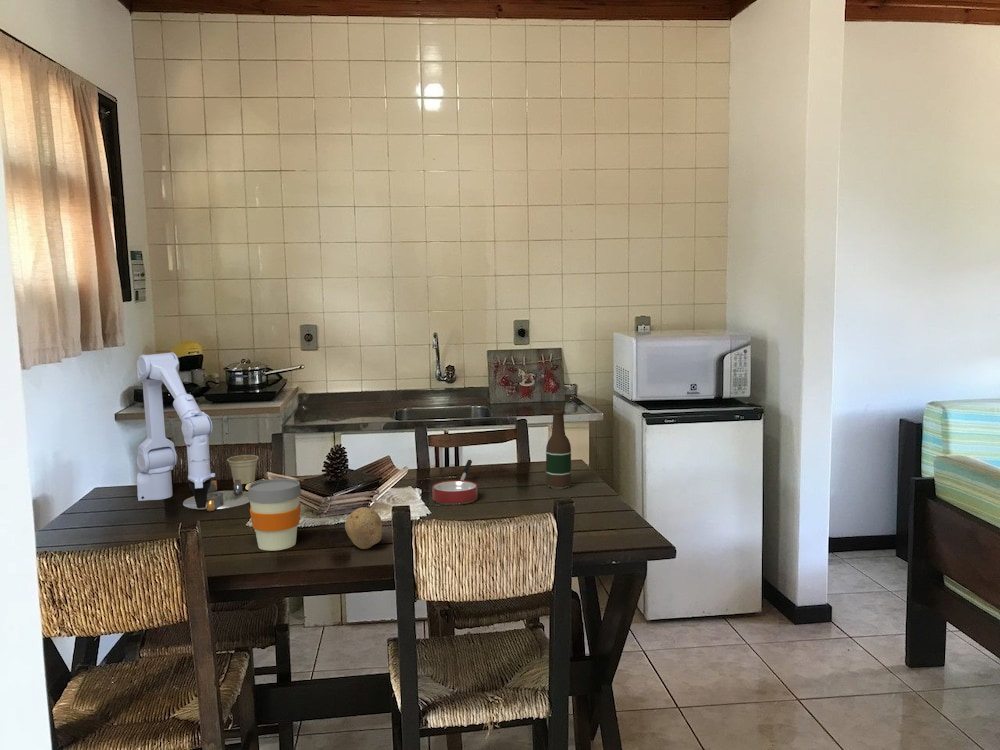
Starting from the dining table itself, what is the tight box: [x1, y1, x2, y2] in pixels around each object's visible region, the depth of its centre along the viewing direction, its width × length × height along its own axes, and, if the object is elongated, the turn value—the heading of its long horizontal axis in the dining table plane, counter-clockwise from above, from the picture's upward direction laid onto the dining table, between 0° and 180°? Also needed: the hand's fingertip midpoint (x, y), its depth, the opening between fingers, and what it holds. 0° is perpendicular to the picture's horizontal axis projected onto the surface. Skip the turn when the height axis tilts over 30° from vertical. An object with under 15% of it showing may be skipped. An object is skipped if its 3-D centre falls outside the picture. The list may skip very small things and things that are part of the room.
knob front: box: [206, 492, 224, 512], centre depth 232 cm, size 8×2×3 cm, turn 178°
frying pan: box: [431, 459, 478, 503], centre depth 251 cm, size 32×13×6 cm, turn 178°
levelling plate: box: [182, 490, 250, 510], centre depth 241 cm, size 20×20×2 cm
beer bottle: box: [545, 408, 572, 487], centre depth 254 cm, size 8×8×24 cm
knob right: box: [233, 479, 243, 495], centre depth 248 cm, size 8×2×3 cm, turn 18°
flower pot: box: [226, 454, 259, 485], centre depth 262 cm, size 9×9×9 cm
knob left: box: [207, 480, 218, 495], centre depth 247 cm, size 8×2×3 cm, turn 168°
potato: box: [344, 506, 383, 550], centre depth 200 cm, size 9×9×10 cm
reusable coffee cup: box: [247, 478, 302, 552], centre depth 203 cm, size 13×13×15 cm
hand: (201, 507), depth 230 cm, fingers closed
